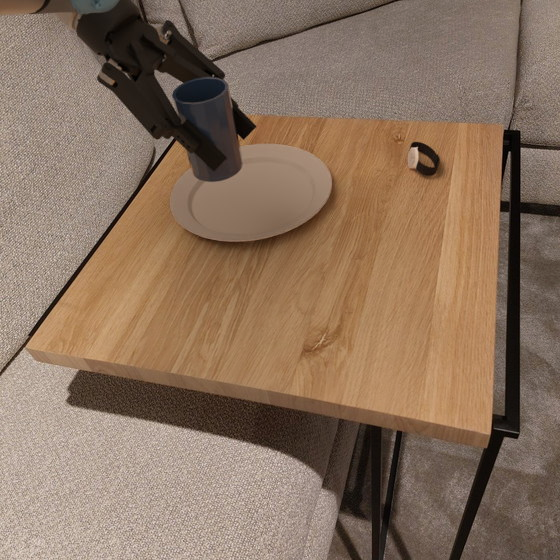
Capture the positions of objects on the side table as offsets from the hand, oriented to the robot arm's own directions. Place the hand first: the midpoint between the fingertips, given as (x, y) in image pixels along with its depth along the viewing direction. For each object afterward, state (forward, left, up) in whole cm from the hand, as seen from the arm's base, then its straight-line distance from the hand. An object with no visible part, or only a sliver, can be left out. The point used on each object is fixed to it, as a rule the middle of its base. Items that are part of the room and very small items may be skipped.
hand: (235, 148), depth 74 cm
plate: (-4, +10, -16) cm, 19 cm away
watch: (+20, +24, -16) cm, 34 cm away
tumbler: (-3, 0, -3) cm, 5 cm away
